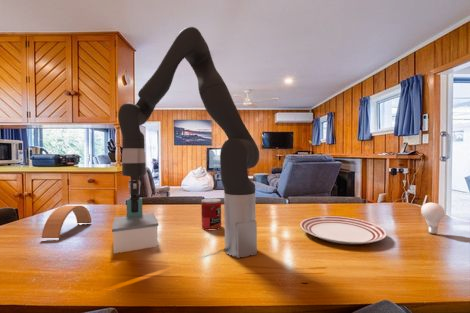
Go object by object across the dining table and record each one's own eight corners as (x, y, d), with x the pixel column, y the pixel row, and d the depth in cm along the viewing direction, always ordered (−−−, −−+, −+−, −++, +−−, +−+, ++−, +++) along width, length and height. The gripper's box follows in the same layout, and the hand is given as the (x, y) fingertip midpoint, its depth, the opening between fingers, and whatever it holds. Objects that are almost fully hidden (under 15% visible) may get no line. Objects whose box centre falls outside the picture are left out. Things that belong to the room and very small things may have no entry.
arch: (40, 242, 79) (40, 212, 79) (78, 224, 99) (78, 201, 99) (58, 241, 79) (57, 212, 79) (92, 224, 99) (92, 201, 99)
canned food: (212, 231, 87) (212, 202, 87) (197, 228, 92) (197, 200, 92) (225, 226, 93) (225, 199, 93) (210, 223, 98) (210, 197, 98)
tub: (157, 248, 72) (157, 225, 72) (113, 256, 67) (113, 231, 67) (152, 235, 84) (152, 215, 84) (115, 240, 79) (115, 219, 79)
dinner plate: (403, 254, 66) (403, 242, 66) (303, 247, 72) (303, 236, 72) (368, 225, 93) (368, 217, 93) (298, 222, 99) (297, 214, 99)
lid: (158, 229, 72) (158, 203, 72) (112, 236, 66) (111, 208, 66) (153, 218, 85) (153, 196, 85) (114, 223, 80) (114, 199, 80)
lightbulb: (449, 237, 78) (449, 204, 78) (427, 236, 80) (427, 204, 80) (437, 231, 85) (436, 201, 85) (417, 230, 86) (416, 200, 86)
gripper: (147, 161, 77) (147, 214, 77) (144, 161, 90) (144, 205, 90) (121, 162, 73) (122, 216, 73) (122, 161, 86) (122, 207, 86)
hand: (134, 210), depth 81 cm, fingers open, 4 cm apart
